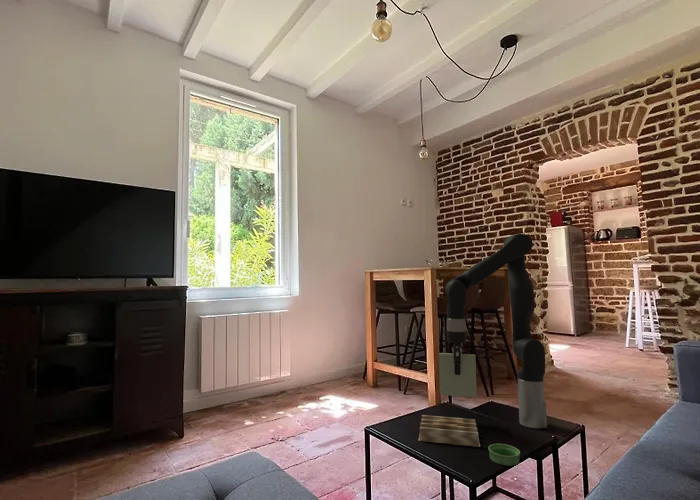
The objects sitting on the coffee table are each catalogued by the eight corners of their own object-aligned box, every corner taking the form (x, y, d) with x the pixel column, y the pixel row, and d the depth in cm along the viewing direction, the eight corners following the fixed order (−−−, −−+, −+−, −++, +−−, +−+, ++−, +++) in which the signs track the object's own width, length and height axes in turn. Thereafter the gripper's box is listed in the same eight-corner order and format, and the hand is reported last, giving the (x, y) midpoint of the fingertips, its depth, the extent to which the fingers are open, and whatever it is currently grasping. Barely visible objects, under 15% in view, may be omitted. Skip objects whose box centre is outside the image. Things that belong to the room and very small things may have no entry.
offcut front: (457, 439, 127) (457, 424, 128) (457, 442, 125) (457, 426, 126) (433, 437, 129) (433, 422, 130) (433, 439, 127) (433, 424, 128)
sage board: (476, 395, 148) (475, 354, 149) (476, 397, 146) (475, 355, 147) (439, 393, 151) (439, 352, 153) (439, 394, 149) (439, 353, 151)
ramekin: (525, 473, 108) (524, 457, 108) (492, 471, 109) (492, 455, 109) (515, 459, 117) (514, 444, 117) (485, 457, 118) (485, 442, 118)
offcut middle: (463, 435, 131) (462, 420, 131) (463, 437, 129) (463, 422, 130) (439, 433, 133) (439, 418, 133) (439, 435, 131) (439, 420, 132)
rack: (477, 435, 135) (476, 419, 136) (480, 451, 122) (480, 433, 122) (420, 430, 140) (420, 414, 141) (418, 445, 127) (418, 428, 127)
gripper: (467, 332, 143) (468, 378, 142) (465, 328, 157) (466, 370, 155) (446, 331, 145) (447, 377, 143) (446, 327, 159) (447, 369, 157)
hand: (457, 373), depth 149 cm, fingers closed on sage board, 2 cm apart
